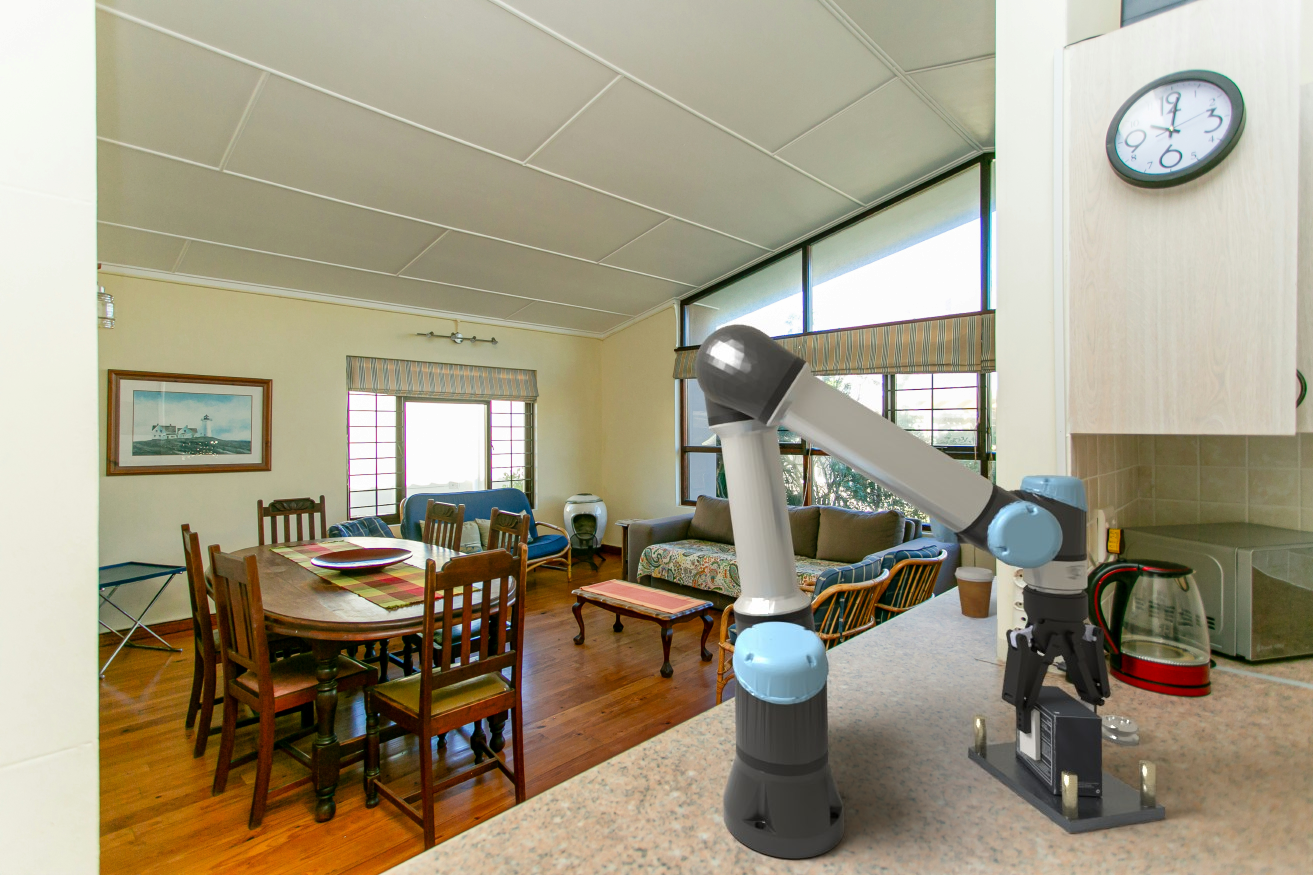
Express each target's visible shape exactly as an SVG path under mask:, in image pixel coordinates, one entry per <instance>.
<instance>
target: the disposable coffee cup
mask: <svg viewBox="0 0 1313 875" xmlns="http://www.w3.org/2000/svg"><path fill="white" fill-rule="evenodd" d="M954 575H955V578H956V581H957V582H956V583H957V588H958V596H959V602H960V608H961V614H962V615H963V616H965V617H970V618H973V619H974V618H976V619H985V617H986V618H988V617H989V613H990V605H991V598H992V587H993V582H994V579H995V577H996V576H995V575H994V572H993V570H991V569H989V568H984V567H977V566H960V567H957V568H956V571H955V572H954Z"/></svg>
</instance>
